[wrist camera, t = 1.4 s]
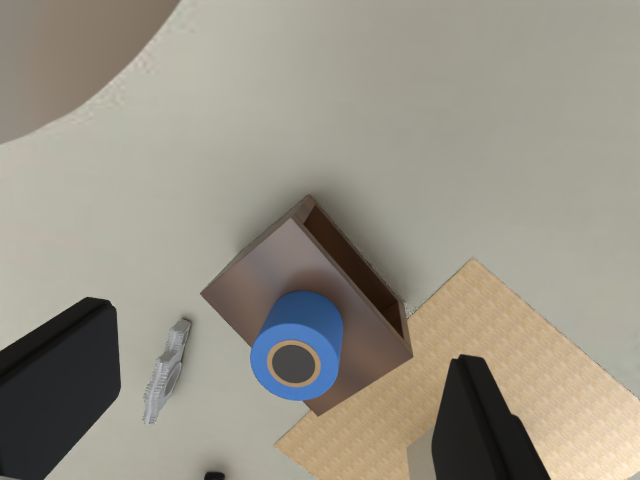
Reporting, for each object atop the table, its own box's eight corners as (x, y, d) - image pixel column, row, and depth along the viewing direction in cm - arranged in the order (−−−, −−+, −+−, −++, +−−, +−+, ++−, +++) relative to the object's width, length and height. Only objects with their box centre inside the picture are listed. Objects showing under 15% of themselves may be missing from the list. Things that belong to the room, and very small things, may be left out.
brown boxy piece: (309, 193, 41) (291, 216, 31) (404, 304, 43) (413, 357, 34) (236, 255, 44) (199, 293, 35) (328, 356, 46) (317, 417, 37)
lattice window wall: (181, 315, 47) (155, 342, 42) (194, 320, 47) (171, 348, 42) (161, 392, 51) (135, 426, 45) (174, 397, 51) (150, 431, 45)
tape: (309, 275, 33) (296, 307, 27) (359, 332, 34) (357, 373, 28) (253, 318, 35) (231, 356, 29) (302, 370, 36) (290, 416, 30)
